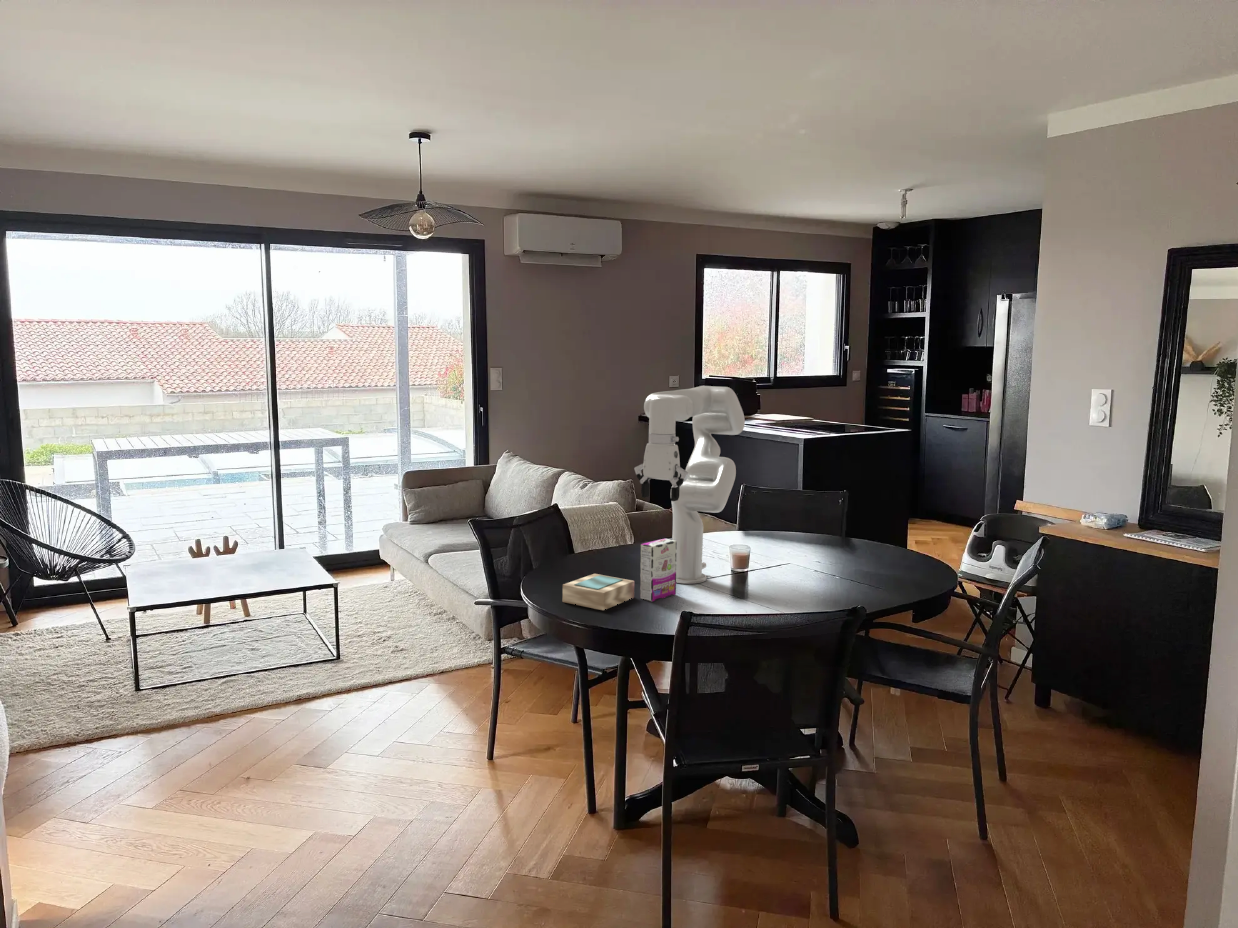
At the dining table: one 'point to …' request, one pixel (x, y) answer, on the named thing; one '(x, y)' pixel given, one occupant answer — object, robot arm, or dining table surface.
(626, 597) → the wooden brick
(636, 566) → the dining table surface
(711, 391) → the robot arm
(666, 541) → the candy bar box
